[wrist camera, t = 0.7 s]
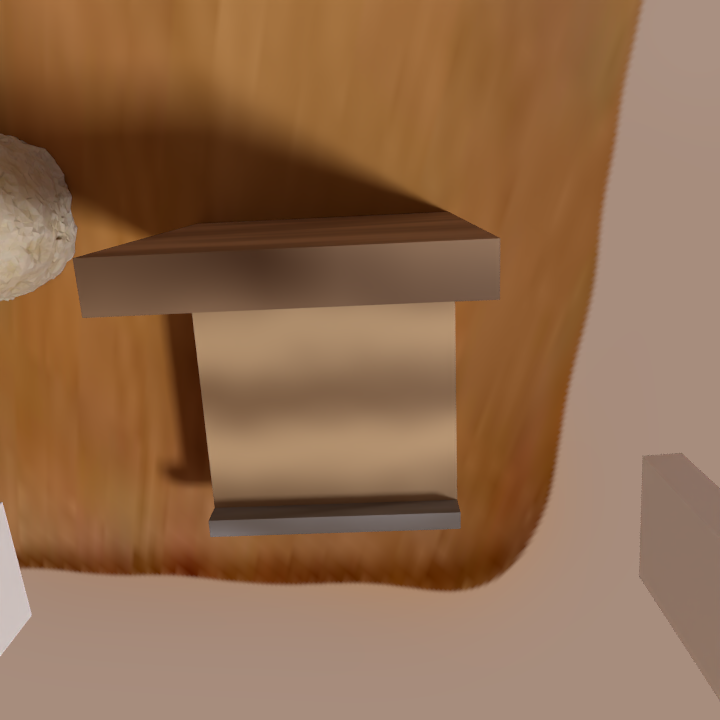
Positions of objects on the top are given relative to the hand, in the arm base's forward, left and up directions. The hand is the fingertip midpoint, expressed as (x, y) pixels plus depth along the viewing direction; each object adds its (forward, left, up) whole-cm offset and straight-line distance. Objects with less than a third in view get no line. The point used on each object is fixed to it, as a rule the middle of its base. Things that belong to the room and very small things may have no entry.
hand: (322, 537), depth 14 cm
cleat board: (+4, -2, -26) cm, 26 cm away
